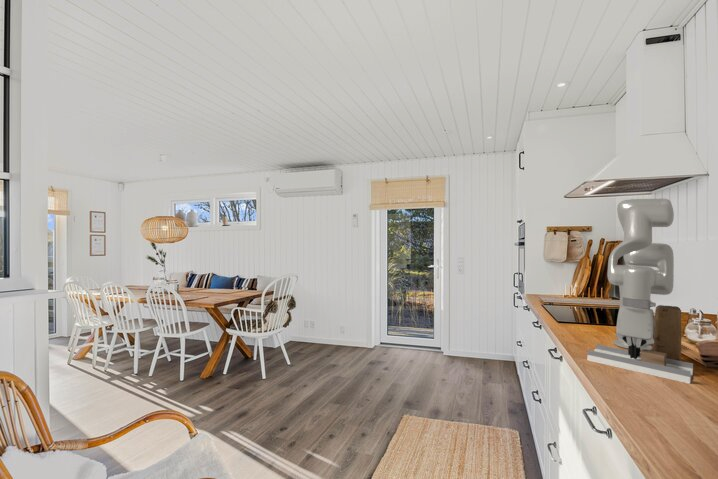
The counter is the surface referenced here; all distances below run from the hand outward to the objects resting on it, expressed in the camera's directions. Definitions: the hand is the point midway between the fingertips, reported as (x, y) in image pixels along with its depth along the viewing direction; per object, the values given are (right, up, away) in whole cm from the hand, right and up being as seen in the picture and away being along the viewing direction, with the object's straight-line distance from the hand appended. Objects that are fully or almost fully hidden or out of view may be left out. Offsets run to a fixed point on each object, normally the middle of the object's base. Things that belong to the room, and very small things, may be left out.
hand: (633, 357), depth 126 cm
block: (+15, -4, +5) cm, 16 cm away
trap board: (+1, -3, -1) cm, 3 cm away
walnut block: (+3, -1, -4) cm, 5 cm away
